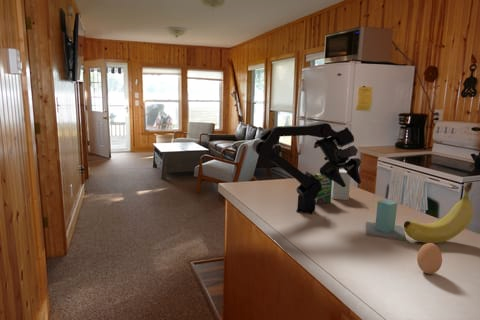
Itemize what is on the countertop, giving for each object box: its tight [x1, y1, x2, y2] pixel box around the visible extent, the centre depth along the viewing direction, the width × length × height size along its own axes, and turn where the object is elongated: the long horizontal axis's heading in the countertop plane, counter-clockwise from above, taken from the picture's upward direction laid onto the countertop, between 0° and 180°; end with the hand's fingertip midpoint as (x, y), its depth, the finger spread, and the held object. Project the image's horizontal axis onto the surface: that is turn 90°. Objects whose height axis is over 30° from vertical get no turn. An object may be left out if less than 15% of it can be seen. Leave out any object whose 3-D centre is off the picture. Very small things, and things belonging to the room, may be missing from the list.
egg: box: [416, 243, 443, 275], centre depth 90 cm, size 6×6×8 cm
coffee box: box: [313, 173, 332, 205], centre depth 148 cm, size 8×3×13 cm, turn 115°
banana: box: [403, 181, 474, 244], centre depth 109 cm, size 23×6×20 cm, turn 98°
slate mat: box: [365, 221, 407, 241], centre depth 119 cm, size 12×12×1 cm
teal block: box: [375, 199, 398, 233], centre depth 118 cm, size 4×4×10 cm
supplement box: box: [331, 168, 351, 201], centre depth 157 cm, size 7×7×13 cm
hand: (352, 185), depth 127 cm, fingers open, 9 cm apart
